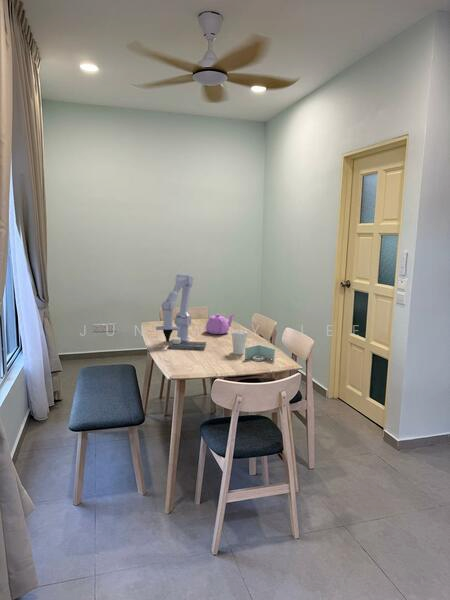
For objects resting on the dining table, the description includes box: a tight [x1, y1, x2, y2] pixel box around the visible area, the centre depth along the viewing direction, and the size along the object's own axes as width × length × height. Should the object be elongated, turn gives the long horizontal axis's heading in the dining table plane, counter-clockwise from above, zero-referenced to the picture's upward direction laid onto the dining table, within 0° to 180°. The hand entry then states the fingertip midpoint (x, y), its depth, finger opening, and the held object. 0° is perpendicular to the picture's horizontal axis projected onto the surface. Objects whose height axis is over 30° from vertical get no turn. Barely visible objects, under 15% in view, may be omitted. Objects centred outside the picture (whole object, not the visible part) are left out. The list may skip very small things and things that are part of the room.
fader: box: [172, 336, 181, 344], centre depth 258 cm, size 5×4×3 cm
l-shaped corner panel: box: [244, 343, 276, 362], centre depth 235 cm, size 12×12×8 cm
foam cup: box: [231, 329, 248, 355], centre depth 248 cm, size 10×9×13 cm
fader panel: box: [168, 340, 207, 351], centre depth 258 cm, size 12×22×2 cm, turn 88°
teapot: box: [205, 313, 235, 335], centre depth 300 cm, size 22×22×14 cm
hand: (167, 341), depth 258 cm, fingers closed
